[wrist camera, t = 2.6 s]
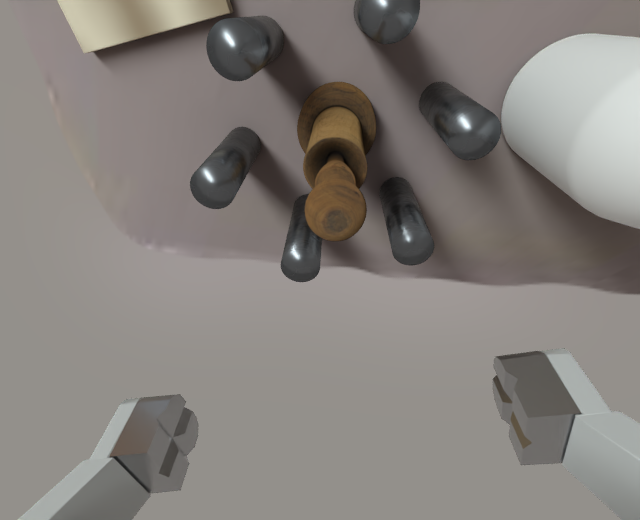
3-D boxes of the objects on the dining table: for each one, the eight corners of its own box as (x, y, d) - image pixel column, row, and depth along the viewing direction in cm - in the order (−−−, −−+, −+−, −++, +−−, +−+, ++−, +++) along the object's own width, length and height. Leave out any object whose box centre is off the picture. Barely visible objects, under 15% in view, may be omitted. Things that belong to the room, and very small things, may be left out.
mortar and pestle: (298, 80, 30) (259, 149, 15) (378, 82, 30) (418, 153, 15) (300, 160, 34) (270, 279, 19) (370, 162, 33) (397, 283, 19)
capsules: (454, -38, 25) (510, -61, 17) (457, 195, 35) (494, 252, 27) (188, 35, 28) (126, 46, 20) (258, 231, 38) (236, 292, 30)
